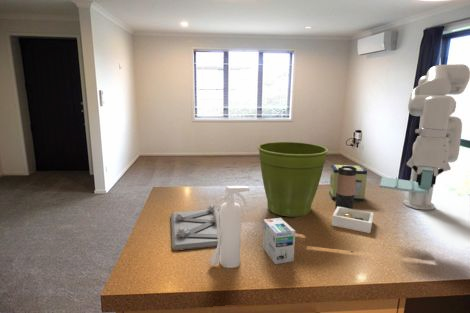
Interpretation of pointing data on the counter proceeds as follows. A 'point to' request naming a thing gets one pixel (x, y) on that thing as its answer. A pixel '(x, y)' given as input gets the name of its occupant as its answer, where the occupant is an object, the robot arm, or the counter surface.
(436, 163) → the robot arm
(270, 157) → the plant pot
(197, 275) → the counter surface
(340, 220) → the tub
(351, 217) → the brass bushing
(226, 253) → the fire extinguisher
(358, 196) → the protein box
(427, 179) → the lid
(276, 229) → the light bulb box
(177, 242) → the grey zigzag panel
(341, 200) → the travel mug
